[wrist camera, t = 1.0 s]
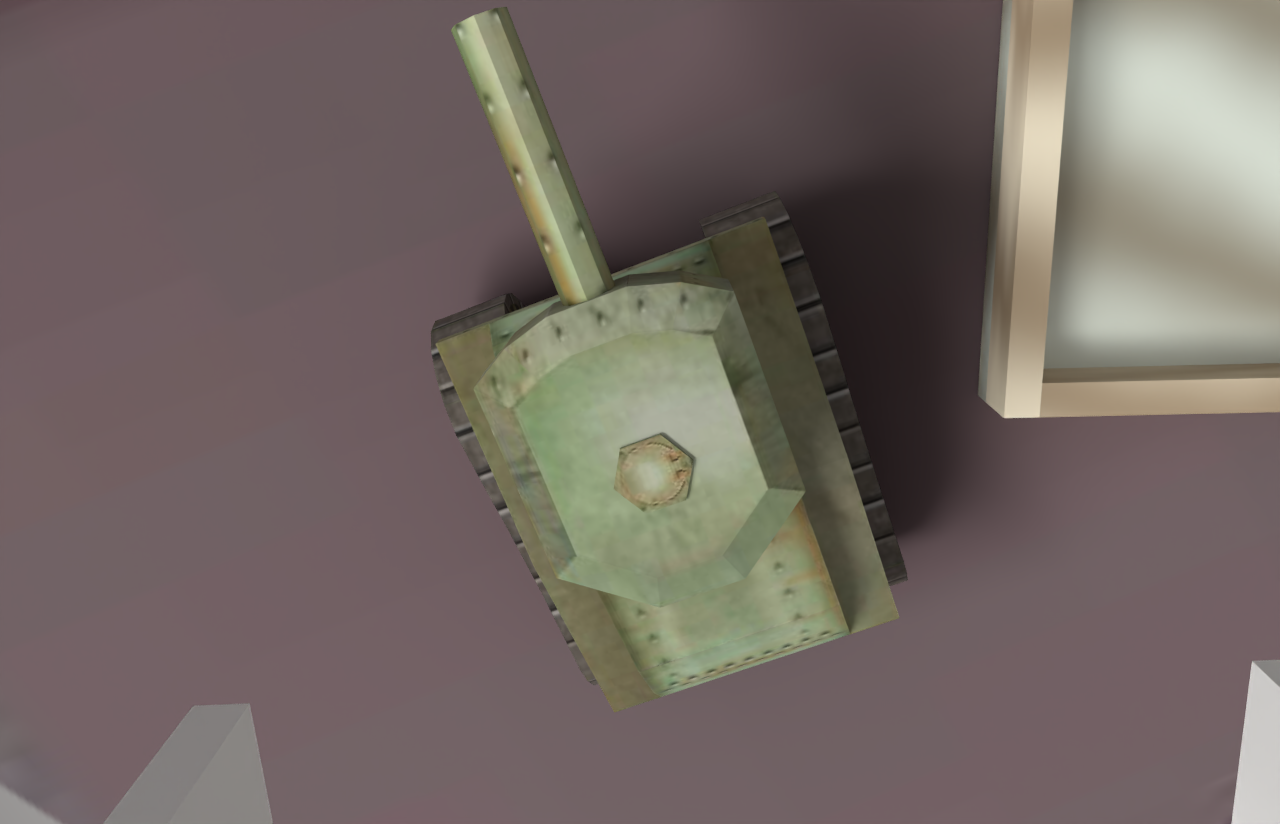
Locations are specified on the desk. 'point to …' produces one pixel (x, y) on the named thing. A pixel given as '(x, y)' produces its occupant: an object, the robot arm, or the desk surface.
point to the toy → (664, 428)
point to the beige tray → (1134, 210)
